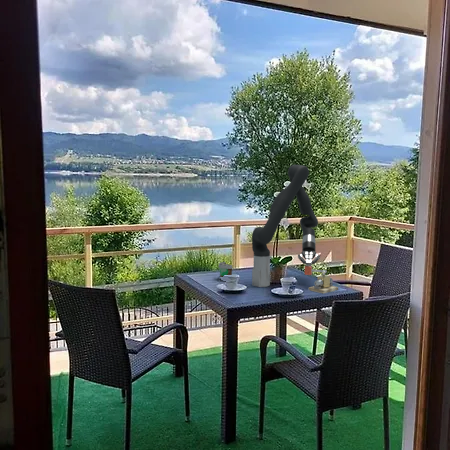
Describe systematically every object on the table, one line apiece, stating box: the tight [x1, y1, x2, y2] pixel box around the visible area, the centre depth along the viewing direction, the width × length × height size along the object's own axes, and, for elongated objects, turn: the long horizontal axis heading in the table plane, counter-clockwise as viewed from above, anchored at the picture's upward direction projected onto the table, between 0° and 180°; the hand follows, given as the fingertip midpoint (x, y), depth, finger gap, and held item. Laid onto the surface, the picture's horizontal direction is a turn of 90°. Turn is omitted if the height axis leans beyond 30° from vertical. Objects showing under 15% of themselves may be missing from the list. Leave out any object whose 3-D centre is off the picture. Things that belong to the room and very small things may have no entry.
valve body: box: [313, 275, 334, 289], centre depth 260 cm, size 12×4×6 cm, turn 130°
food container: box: [217, 261, 233, 278], centre depth 284 cm, size 12×6×10 cm, turn 21°
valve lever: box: [304, 265, 328, 276], centre depth 262 cm, size 12×3×5 cm, turn 68°
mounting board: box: [308, 285, 339, 294], centre depth 261 cm, size 13×10×2 cm
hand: (308, 269), depth 265 cm, fingers closed
